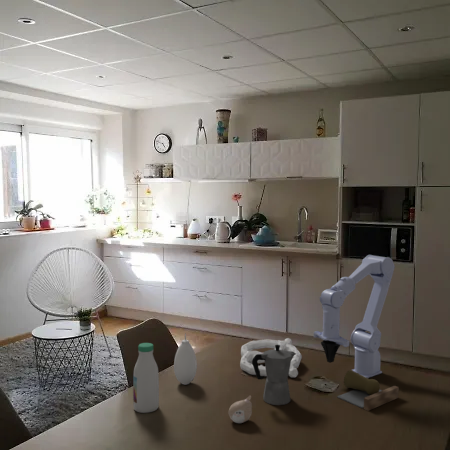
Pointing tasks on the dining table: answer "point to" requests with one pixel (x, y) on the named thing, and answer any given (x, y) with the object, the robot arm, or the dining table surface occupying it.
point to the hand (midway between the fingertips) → (330, 361)
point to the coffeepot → (275, 375)
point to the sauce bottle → (185, 363)
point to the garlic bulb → (241, 410)
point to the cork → (361, 382)
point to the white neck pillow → (249, 355)
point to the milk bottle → (145, 381)
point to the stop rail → (380, 398)
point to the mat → (355, 397)
